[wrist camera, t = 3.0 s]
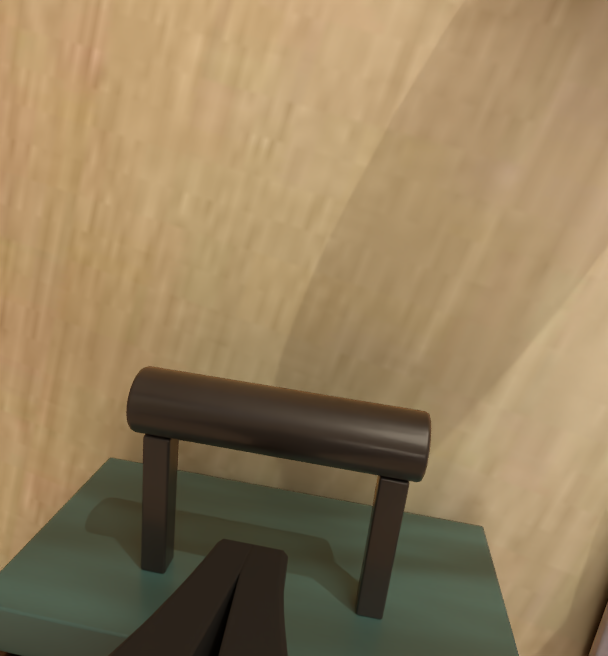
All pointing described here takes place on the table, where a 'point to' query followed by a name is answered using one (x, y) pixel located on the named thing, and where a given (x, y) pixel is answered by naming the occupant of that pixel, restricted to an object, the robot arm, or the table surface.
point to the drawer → (259, 532)
